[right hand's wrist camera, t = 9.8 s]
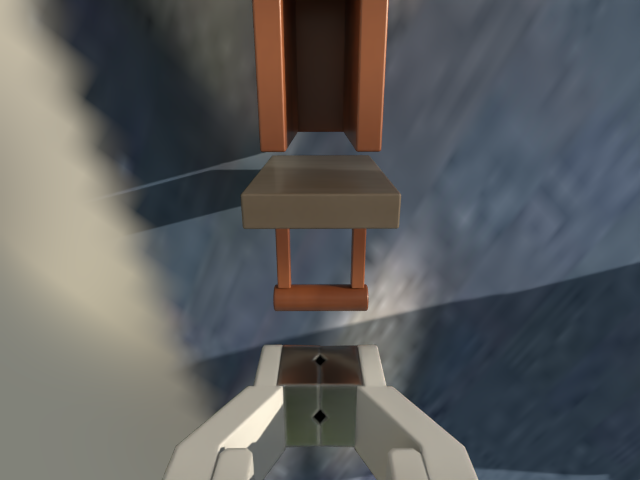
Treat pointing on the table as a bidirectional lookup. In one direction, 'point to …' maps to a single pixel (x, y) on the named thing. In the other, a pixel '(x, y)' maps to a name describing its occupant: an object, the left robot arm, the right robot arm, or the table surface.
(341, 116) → the drawer
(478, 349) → the table surface
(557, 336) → the table surface
